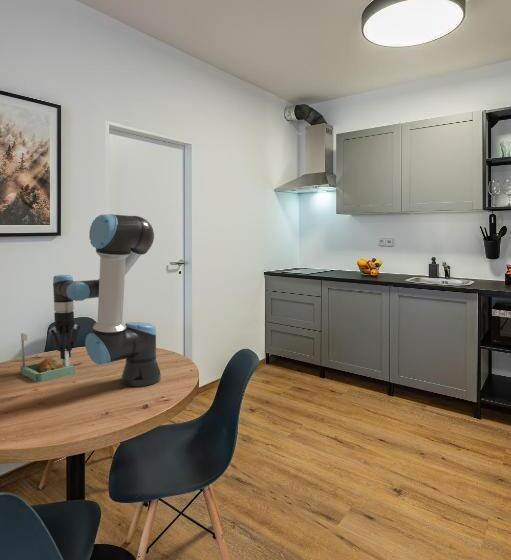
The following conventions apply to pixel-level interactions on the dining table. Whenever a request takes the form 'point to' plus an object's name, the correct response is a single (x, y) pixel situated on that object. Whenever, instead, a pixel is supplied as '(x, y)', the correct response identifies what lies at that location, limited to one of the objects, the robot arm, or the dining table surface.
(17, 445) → the dining table surface
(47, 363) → the bread roll
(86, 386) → the dining table surface
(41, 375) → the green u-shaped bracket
